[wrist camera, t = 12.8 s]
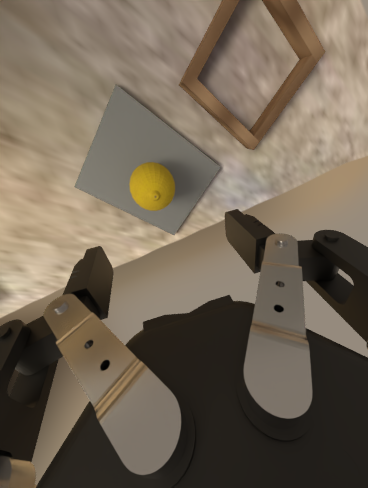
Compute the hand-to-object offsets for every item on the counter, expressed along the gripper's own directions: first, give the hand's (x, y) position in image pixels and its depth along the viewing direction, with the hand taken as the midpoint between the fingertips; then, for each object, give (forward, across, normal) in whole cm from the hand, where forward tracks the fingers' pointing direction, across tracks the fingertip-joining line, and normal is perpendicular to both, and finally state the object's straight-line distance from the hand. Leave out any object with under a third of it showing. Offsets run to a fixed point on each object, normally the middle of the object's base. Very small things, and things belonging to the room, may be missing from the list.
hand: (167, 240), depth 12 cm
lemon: (+18, 0, 0) cm, 18 cm away
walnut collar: (+18, -15, -9) cm, 25 cm away
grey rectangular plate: (+18, 0, 0) cm, 18 cm away
